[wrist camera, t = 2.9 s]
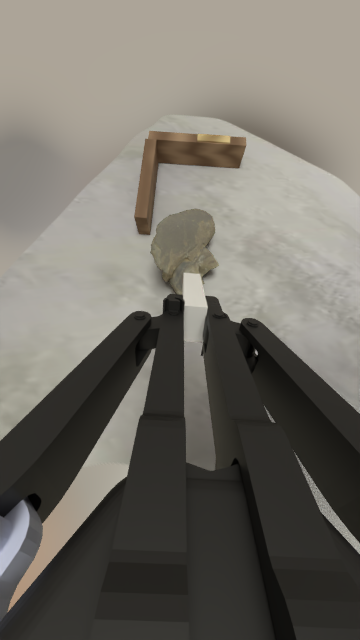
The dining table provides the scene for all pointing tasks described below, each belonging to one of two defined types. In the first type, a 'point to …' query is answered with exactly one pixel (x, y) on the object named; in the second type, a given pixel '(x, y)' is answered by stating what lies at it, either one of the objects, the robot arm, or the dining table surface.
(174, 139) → the brown wooden l-shaped piece
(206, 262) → the jagged rock
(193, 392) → the dining table surface
